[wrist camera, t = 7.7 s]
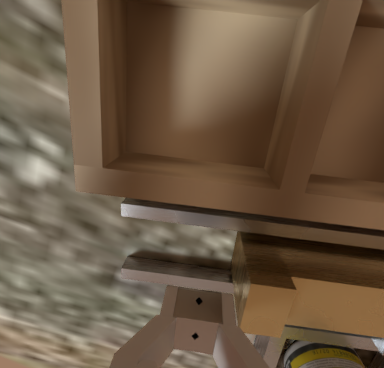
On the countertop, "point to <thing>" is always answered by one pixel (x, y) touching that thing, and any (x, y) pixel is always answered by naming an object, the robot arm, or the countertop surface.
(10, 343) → the countertop surface
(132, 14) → the box
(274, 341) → the socket block
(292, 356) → the supplement bottle
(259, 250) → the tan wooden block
